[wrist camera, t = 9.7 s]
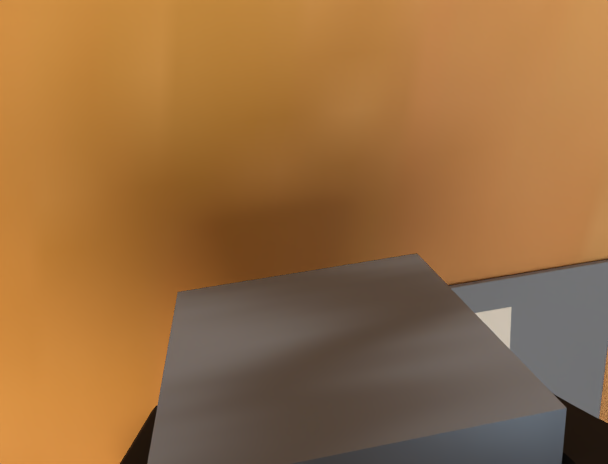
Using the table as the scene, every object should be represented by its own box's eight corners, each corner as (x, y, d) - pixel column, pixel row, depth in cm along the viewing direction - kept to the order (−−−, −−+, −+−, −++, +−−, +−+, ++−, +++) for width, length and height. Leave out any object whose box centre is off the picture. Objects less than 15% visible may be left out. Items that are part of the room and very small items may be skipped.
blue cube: (416, 253, 11) (566, 407, 6) (422, 440, 13) (542, 672, 8) (177, 291, 10) (141, 493, 6) (218, 481, 12) (216, 756, 7)
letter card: (613, 258, 19) (618, 260, 19) (590, 462, 23) (593, 466, 23) (357, 300, 18) (358, 303, 18) (373, 507, 22) (374, 512, 22)
